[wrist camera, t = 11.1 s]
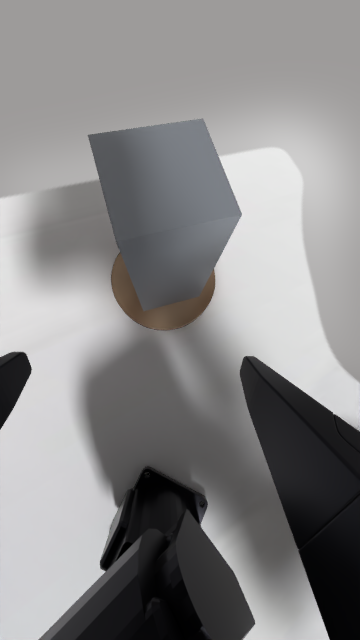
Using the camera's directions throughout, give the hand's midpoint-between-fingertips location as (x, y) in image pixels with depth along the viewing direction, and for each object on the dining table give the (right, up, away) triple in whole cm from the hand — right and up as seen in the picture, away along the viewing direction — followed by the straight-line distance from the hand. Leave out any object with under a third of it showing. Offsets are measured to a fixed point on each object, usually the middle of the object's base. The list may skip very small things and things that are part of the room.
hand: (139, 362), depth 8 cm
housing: (0, +6, +13) cm, 14 cm away
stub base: (0, +6, +14) cm, 15 cm away
